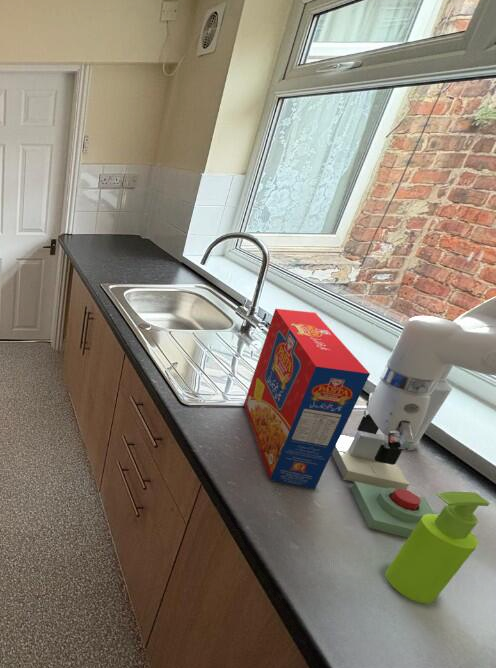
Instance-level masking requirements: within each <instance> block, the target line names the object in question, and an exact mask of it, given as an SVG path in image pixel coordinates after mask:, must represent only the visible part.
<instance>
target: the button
mask: <svg viewBox="0 0 496 668" xmlns="http://www.w3.org/2000/svg"><path fill="white" fill-rule="evenodd" d="M416 495H417V494H415V493H413V492H411V491H410V490H408V489H406V490H404V489H395V490H394V492H393V494H392V495H391V500H392V501H393V502H394V503H395V504H397V505H398V506H400V507H402V508H405V509H408V510H412V511H413V510H416V509H417V507H418V506H419V504H420V502H421V501H420V499H419V497H418V496H419V495H417V496H416Z"/></svg>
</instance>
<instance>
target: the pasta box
mask: <svg viewBox="0 0 496 668" xmlns="http://www.w3.org/2000/svg"><path fill="white" fill-rule="evenodd" d="M370 375H371V373H370V372H369V371H368V370H367V368H365V365H363V364H362V363H361V362H360V361H359V360H358V358H357V357H356V356H355V355H354V354H353V352H351V351H350V350H349V349H348V347H347V346H346V345H345V344H344V342H342V340H341V339H339V337H338V336H337V335H336V334H335V333H334V332H333V330H332V329H330V327H329V326H328V325H327V324H326V323H325V322H324V321H323V319H322V318H321V317H320V316H319V315H318V314H317V313H316V312H312V311H303V310H294V309H293V310H292V309H282V308H275V309H274V312H273V314H272V318H271V322H270V324H269V327H268V330H267V332H266V335H265V339H264V342H263V345H262V347H261V351H260V354H259V358H258V360H257V363H256V366H255V370H254V372H253V375H252V378H251V382H250V384H249V388H248V390H247V394H246V396H245V400H244V401H243V402H244V403H243V407H244V409H245V413H246V416H247V419H248V421H249V425H250V426H251V427H250V428H251V430H252V432H253V435H254V438H255V441H256V445H257V447H258V450H259V453H260V456H261V458H262V462H263V464H264V467H265V470H266V473H267V476H268V479H269V481H273V482H278V483H282V484H287V485H291V486H297V487H301V488H305V489H311V490H316V488H317V486H318V483H319V482H320V479H321V478H322V475H323V473H324V471H325V469H326V467H327V465H328V463H329V461H330V458H331V456H332V452H333V450H334V448H335V446H336V444H337V442H338V440H339V438H340V435H342V434H343V431H344V429H345V427H346V425H347V423H348V421H349V419H350V417H351V414H352V413H353V410H354V408H355V406H356V404H357V402H358V400H359V398H360V396H361V394H362V391H363V389H364V387H365V385H366V382H367V381H368V379H369V377H370Z"/></svg>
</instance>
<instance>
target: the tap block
mask: <svg viewBox="0 0 496 668" xmlns="http://www.w3.org/2000/svg"><path fill="white" fill-rule="evenodd" d="M353 439H354V437H353V436H348V435H342V434H341V435H340V438H339V440H338V442H337V444H336V446H335V448H334V450H333V452H332V454H331V456H332V458H333V460H334V462H335V464H336V466H337V469H338V471H339V473H340V475H341V477H342V480H344V481H348V482H353V483H354V482H355V481H356V482H360V483H365V484H369V485H373V486H378V487H382V488H395V489H404V490H408V488H409V486H410V483H409V481H408V480H407V479H406V477H405V476H404V474H403V473H402V471H401V469H400V468H399V466H398V465H397V462H396V463H395V464H394V465H391V464H386V463H381V462H377V461H375V460H370V459H366V458H361V457H356V456H352V455H350V453H349V451H348V449H349V447H350V445H351V443H352V441H353Z"/></svg>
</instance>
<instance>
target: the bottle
mask: <svg viewBox="0 0 496 668" xmlns="http://www.w3.org/2000/svg"><path fill="white" fill-rule="evenodd" d="M453 367H454V365H451V364H447V366H446V368H445V370H444V372H443V374H442V375H441V377H440V379H439V381H438V383H437V385H436V387H435V388H434V390H433V392H432V394H430V395H429V396H430V400H429V405H428V408H427V411H426V414H425V417H424V419H423V421H422V424H421V426H420V428H419V430H418V432H417V434H416V436H415V438H414V439H413V441H414V443H413V445H411V446H410V447H409V448H408V449H407V450H406V451H413V450H416V449H417V448H418V447H419V445H420V440H421V439H422V437H423V436H424V434H425V433H426V431H427V429H428V428H429V426H430V425H431V423H432V422H433V420H434V419H435V416H437V413H438V412H439V410H440V409H441V407H442V405H443V404H444V402H445V401H446V399H447V398H448V396H449V395H450V393H451V391H452V390H453V388H452V385H450V384H449V382H448V378H447V377H448V375H449V374H450V372H451V370H452V368H453ZM390 432H391V431H390ZM391 433H397V434H400V432H399V431H392V432H391ZM391 437H392V436H391ZM393 438H394V440H395V441H396V442H398V441H399V438H398V437H393Z"/></svg>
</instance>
